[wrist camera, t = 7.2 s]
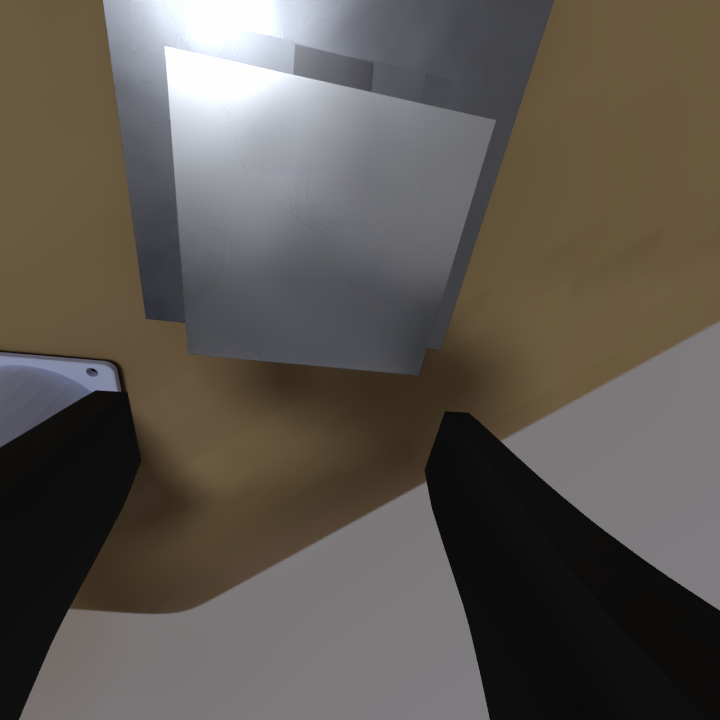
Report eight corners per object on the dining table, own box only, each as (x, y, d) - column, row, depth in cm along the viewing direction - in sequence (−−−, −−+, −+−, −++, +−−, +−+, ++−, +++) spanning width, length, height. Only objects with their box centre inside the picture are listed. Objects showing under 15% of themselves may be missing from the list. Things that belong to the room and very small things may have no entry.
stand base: (154, 309, 18) (103, 365, 13) (99, -146, 10) (-45, -326, 6) (435, 340, 20) (466, 396, 16) (545, -14, 13) (654, -82, 9)
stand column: (253, 238, 13) (183, 357, 6) (257, 84, 11) (154, 9, 4) (370, 254, 14) (422, 378, 7) (396, 114, 11) (510, 94, 5)
